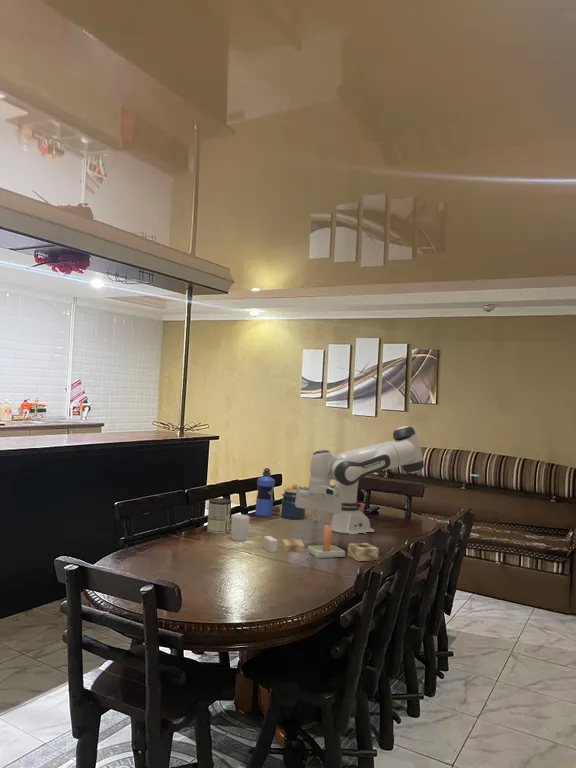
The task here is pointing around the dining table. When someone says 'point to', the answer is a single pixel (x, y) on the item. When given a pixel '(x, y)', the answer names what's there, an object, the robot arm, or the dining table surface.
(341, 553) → the tray
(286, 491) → the canister
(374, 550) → the socket block
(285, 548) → the notched wooden block
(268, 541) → the white rectangular block
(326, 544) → the dowel
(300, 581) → the dining table surface
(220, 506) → the coffee can
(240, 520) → the white cup
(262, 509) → the water bottle
